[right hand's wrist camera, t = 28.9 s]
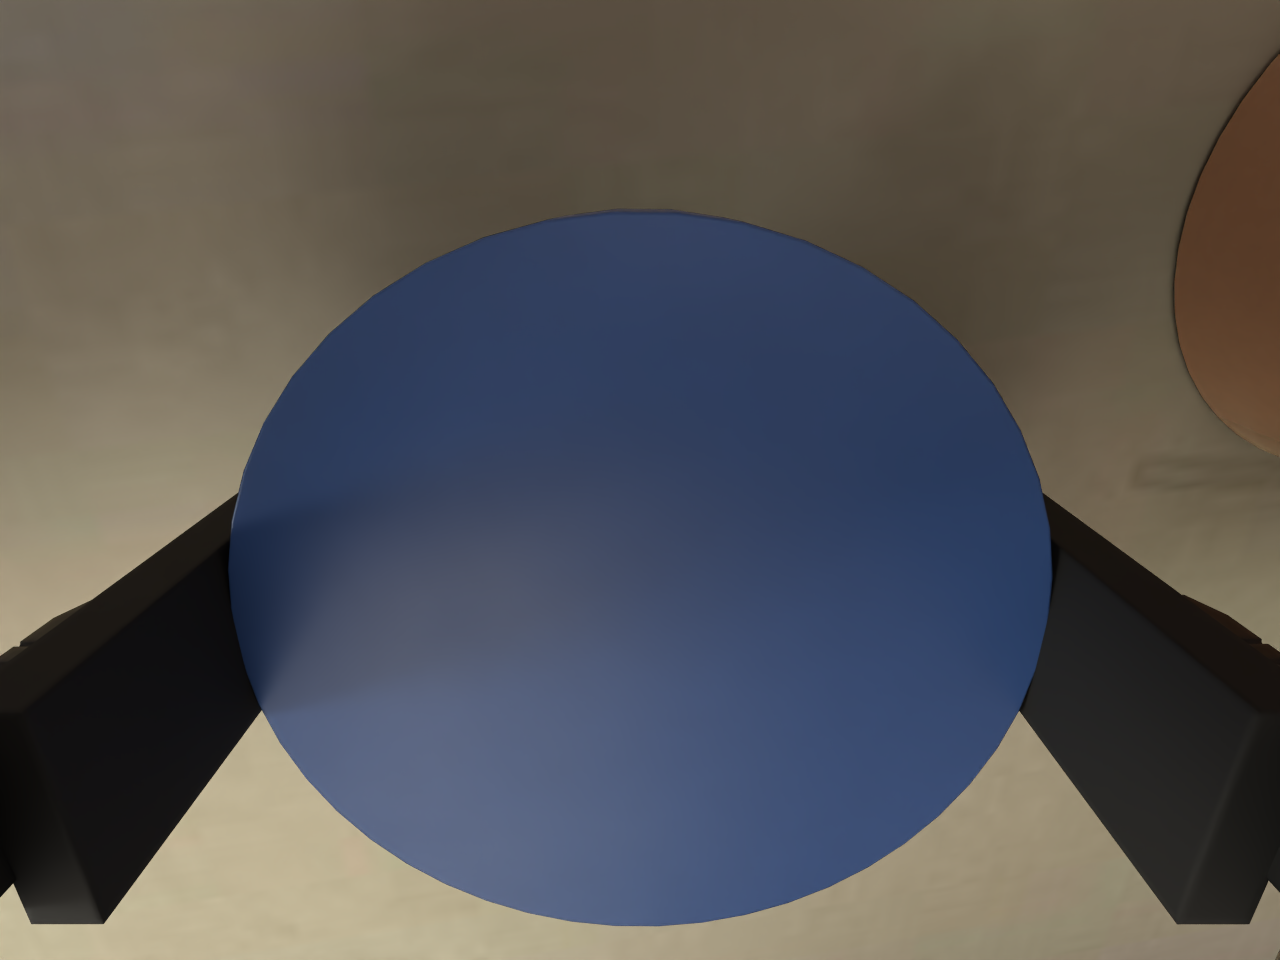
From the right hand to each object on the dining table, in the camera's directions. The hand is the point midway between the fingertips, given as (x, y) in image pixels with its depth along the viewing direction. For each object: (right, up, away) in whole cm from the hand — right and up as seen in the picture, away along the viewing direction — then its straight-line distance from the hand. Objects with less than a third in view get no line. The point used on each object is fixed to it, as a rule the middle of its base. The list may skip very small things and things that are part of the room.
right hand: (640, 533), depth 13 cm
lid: (0, -1, -3) cm, 3 cm away
